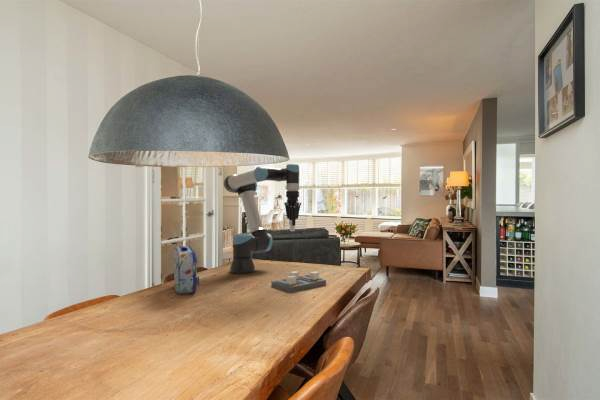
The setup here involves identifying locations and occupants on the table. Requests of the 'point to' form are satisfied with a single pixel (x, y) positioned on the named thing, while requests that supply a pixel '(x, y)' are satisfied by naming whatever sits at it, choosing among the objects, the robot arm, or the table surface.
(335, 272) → the table surface
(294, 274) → the switch middle
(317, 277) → the switch
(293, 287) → the switch panel
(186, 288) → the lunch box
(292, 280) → the switch
